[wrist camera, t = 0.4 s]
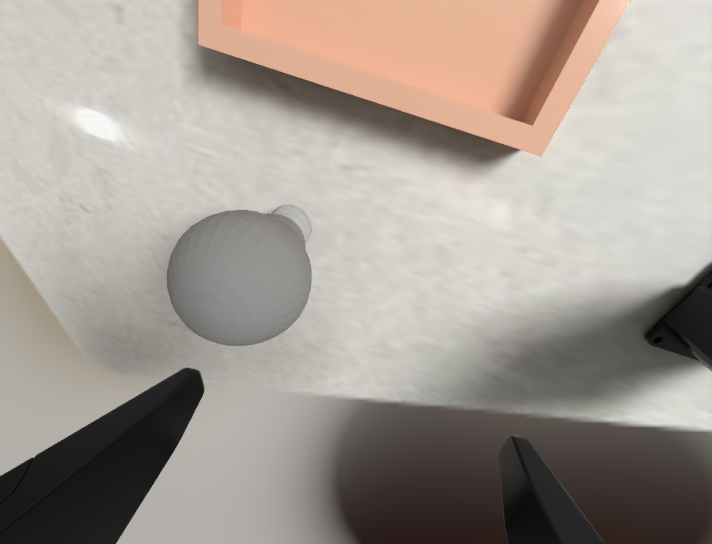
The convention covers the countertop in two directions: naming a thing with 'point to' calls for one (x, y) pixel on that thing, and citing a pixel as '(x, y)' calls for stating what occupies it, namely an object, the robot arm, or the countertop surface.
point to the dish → (430, 54)
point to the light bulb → (242, 275)
